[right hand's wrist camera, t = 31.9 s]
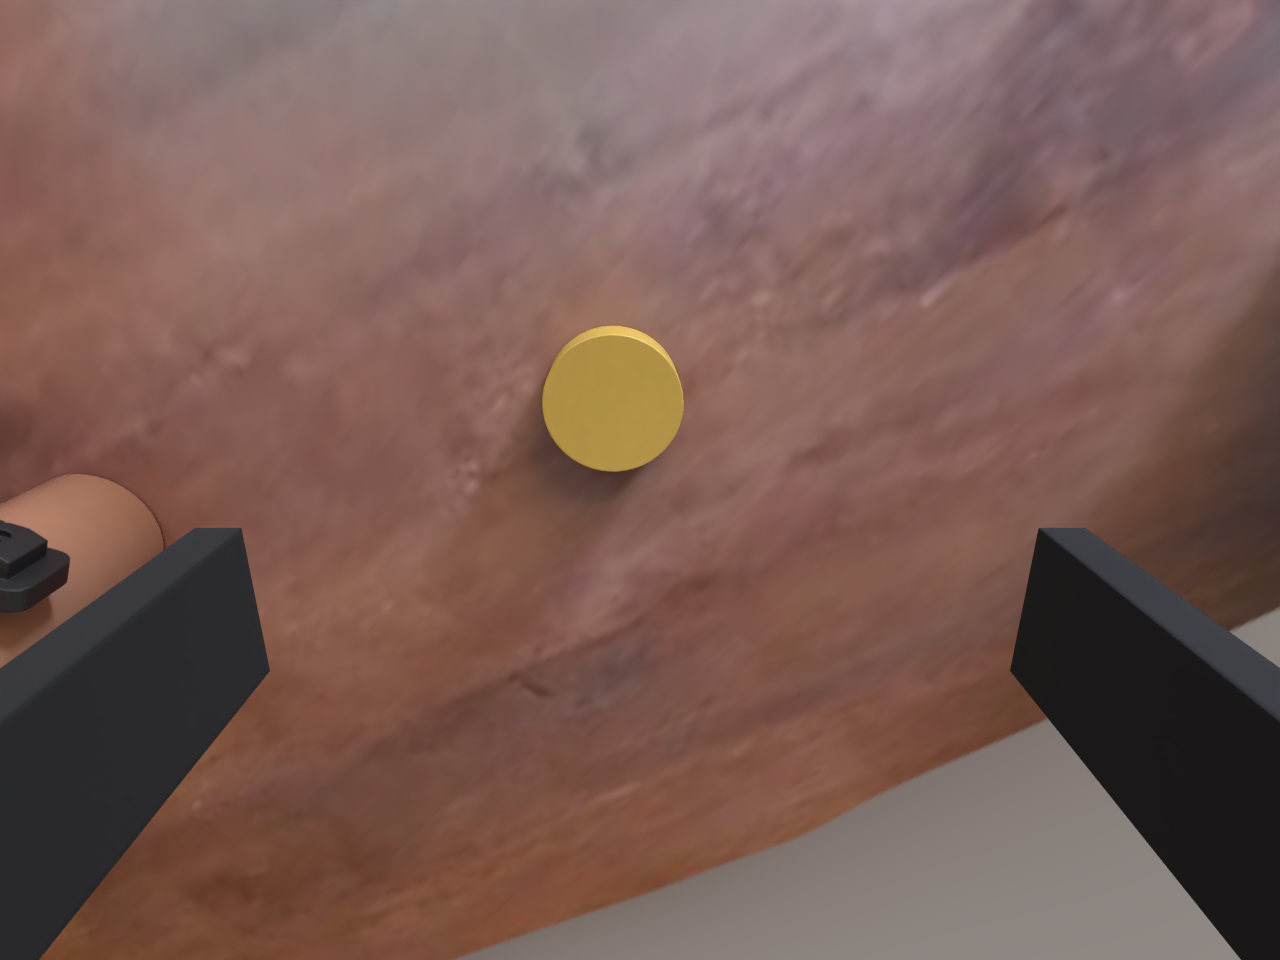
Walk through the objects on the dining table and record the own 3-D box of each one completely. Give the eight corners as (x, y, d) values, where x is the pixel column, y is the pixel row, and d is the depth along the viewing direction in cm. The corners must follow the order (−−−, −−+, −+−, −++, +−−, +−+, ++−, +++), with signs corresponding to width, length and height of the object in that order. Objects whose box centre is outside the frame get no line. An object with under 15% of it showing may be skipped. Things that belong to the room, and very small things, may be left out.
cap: (571, 470, 26) (568, 488, 25) (528, 348, 25) (522, 359, 23) (694, 433, 26) (699, 449, 24) (658, 308, 24) (661, 315, 23)
